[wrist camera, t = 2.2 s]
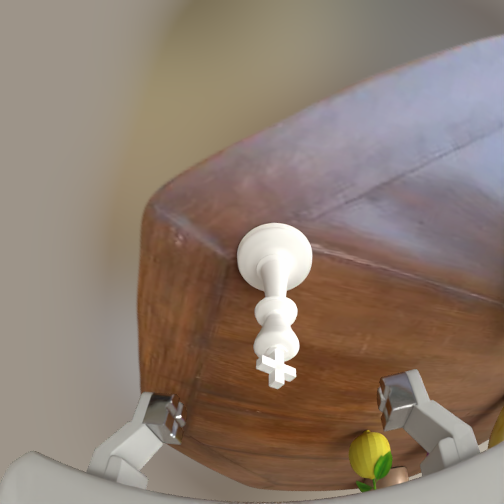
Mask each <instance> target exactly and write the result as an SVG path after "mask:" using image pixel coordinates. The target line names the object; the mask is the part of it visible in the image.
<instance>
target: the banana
mask: <svg viewBox="0 0 504 504" xmlns="http://www.w3.org/2000/svg"><path fill="white" fill-rule="evenodd" d="M502 441H504V407H503V408H502V410H501V412H500V414H499V416H498V419H497V421H496V423H495V425H494V428H493V430H492V433H491V436H490V439H489V444H488V449H489V448H491V447H493V446H495V445H497V444H499V443H500V442H502Z"/></svg>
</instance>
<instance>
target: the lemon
mask: <svg viewBox="0 0 504 504" xmlns="http://www.w3.org/2000/svg"><path fill="white" fill-rule="evenodd" d="M349 460H350V464H351V466H352V468H353V470H354V471H355V472H356V473H357V474H358V475H359V476H361V477H363V478H370V479H371V480H373V485H374V488H373V487H371V486H369V485H367V484H364V483H361V482H359V481H356V484H357V485H358V487H359V489H360V491H361V492H367V491H370V490H371V489H372V488H373V489H374V490H376V486H375V484H376V482H377V481H378V480H379V479H381V478H384V477H385V476H386V475H387V474H388V473H389V471H390V468H391V466H392V455H391V451H390V445H389V443H388V441H387V439H386V438H385V437H384V436H383V435H382V434H380V433H376V432H370V431H368V430H366V431H364V433H363V434H362V435H360V436H358V437H357V438H356V439H355V440H354V441H353V442H352V443H351V445H350V449H349ZM375 479H376V482H375Z"/></svg>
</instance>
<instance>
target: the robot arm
mask: <svg viewBox="0 0 504 504" xmlns="http://www.w3.org/2000/svg"><path fill="white" fill-rule="evenodd" d="M379 383H380V387H379V388H378V390H377V405H378V409H379V410H380V411H381V412H383V413H382V416H381V422H382V426H383V430H384V432H385V431H389V430H394V429H398V428H402V427H403V429H404V430H405V431H406V432H407V433H409V434H410V435H411V436H412V437H413V438H414V439H415V440H416V441H417V442H418V443H419V444H420V445H421V446H422V447H423V448H424V449H425V450H426V451H427V452H428V453H429V454H428V456H427V457H426V458H425V459H424V460H423V461H422V463H421V464H420V467H421V472H422V477H419V478H416V479H413V480H410V481H407V482H403V483H400V484H396V485H392V486H388V487H384V488H380V489H376V490H371V491H367V492H362V493H357V494H351V495H346V496H339V497H332V498H324V499H315V500H305V501H292V502H291V501H290V502H231V501H217V500H206V499H196V498H190V497H183V496H176V495H170V494H164V493H159V492H154V491H150V490H146V486H147V483H148V478H147V476H145V475H144V474H143V473H141V472H140V471H139V470H140V469H141V468H142V467H143V466H144V465H145V464H146V463H147V462H148V461H149V460H150V458H151V457H152V456H153V455H154V454H155V453H156V452H157V451H158V450H159V449H160V447H161V446H162V445H163V443H168V444H179V445H181V442H182V438H183V434H184V431H183V430H182V428H181V427H183V426H184V425H185V424H186V420H187V410H186V407H185V406H184V404H183V403H181V402H179V400H180V398H179V396H178V395H177V394H167V393H155V392H143V393H142V394H141V397H140V399H139V402H138V405H137V407H136V410H135V413H134V416H133V419H132V421H131V422H127V423H126V424H125V425H124V426H123V427H121V428H120V429H119V430H118V431H117V432H115V434H113V435H112V436H111V437H109V438H108V439H107V440H106V441H105V442H104V443H102V444H101V445H100V446H99V447H97V448H96V449H95V450H94V453H93V456H92V458H91V461H90V464H89V466H88V469H87V472H84V471H81V470H78V469H76V468H73V467H71V466H68V465H66V464H63V463H61V462H59V461H56V460H54V459H52V458H49V457H47V456H45V455H43V454H41V453H39V452H36V451H30V452H28V453H26V454H24V455H23V456H21V457H19V458H18V459H16V460H15V461H14V462H12V463H11V464H10V466H9V467H8V469H7V471H6V472H5V474H4V476H3V478H2V480H1V483H0V504H504V441H502V442H500V443H499V444H497V445H495V446H493V447H491V448H489V449H487V450H485V451H483V452H481V453H480V450H479V447H478V444H477V441H476V439H475V436H474V433H473V430H472V428H471V427H470V426H469V425H468V424H466V423H465V422H463V421H462V420H460V419H459V418H458V417H456V416H455V415H453V414H452V413H451V412H449V411H448V410H446V409H445V408H444V407H442V406H441V405H439V404H438V403H437V402H435V401H434V400H431V401H430V400H429V397H428V394H427V392H426V389H425V387H424V384H423V382H422V379H421V377H420V374H419V372H418V370H417V369H414V370H410V371H406V372H401V373H397V374H393V375H388V376H384V377H381V378H380V382H379Z"/></svg>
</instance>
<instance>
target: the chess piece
mask: <svg viewBox="0 0 504 504" xmlns="http://www.w3.org/2000/svg"><path fill="white" fill-rule="evenodd" d="M237 262H238V268H239V271H240V273H241V275H242V277H243V278H244V279H245V280H246V281H247V282H248V283H249V284H250V285H251V286H253V287H255V288H257V289H259V290H262V291H264V292H265V298H264V299H262V300H261V301H260V302H259V303H258V304H257V305H256V307H255V317H256V319H257V321H258V323H259V324H260V325H261V326H262V329H261V331H260V332H259V334H258V335H257V337H256V339H255V342H254V351H255V353H256V355H257V356H258V357H259V358H258V359H257V360H256V369H259V370H261V371H264V372H266V373H269V386H271V387H273V388H276V389H279V388H280V387H281V386H283V385H284V380H286V381H289V382H290V381H291V380H293V379H294V378H295V377H296V369H295V368H292V367H290V366H288V365H285V364H284V362H285V361H288V360H290V359H291V358H293V357H294V356H295V355H296V354H297V352H298V350H299V341H298V339H297V337H296V335H295V333H294V332H293V331H292V329H291V327H290V325H291V324H292V323H293V322H294V321H295V319H296V316H297V307H296V305H295V303H294V302H293V301H292V300H290V299H289V298H287V297H286V291H287V290H290V289H292V288H294V287H296V286H298V285H299V284H300V283H301V282H302V281H303V280H304V279H305V278H306V277H307V275H308V273H309V271H310V269H311V265H312V250H311V246H310V243H309V241H308V240H307V238H306V237H305V236H304V235H303V234H302V233H301V232H300V231H299V230H297V229H296V228H294V227H292V226H289V225H286V224H282V223H268V224H264V225H260V226H258V227H256V228H254V229H252V230H251V231H250V232H248V233H247V234H246V235H245V236H244V238H243V239H242V240H241V242H240V244H239V247H238V251H237Z"/></svg>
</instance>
